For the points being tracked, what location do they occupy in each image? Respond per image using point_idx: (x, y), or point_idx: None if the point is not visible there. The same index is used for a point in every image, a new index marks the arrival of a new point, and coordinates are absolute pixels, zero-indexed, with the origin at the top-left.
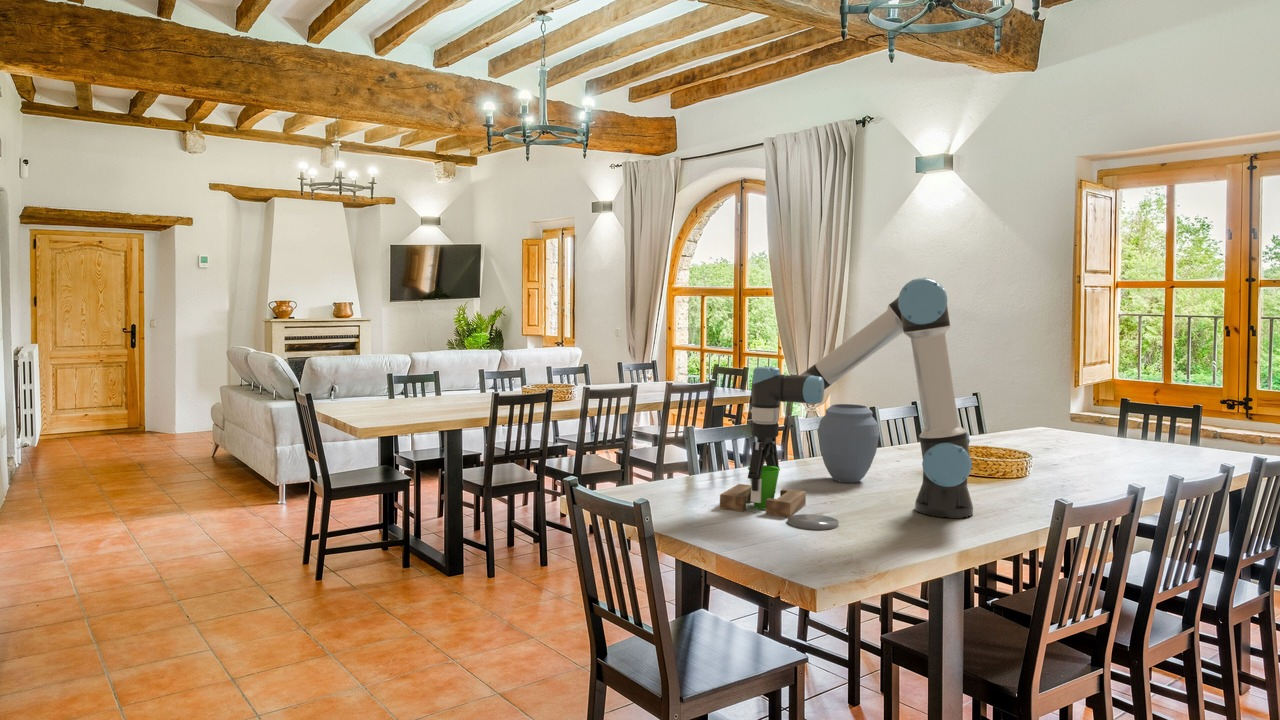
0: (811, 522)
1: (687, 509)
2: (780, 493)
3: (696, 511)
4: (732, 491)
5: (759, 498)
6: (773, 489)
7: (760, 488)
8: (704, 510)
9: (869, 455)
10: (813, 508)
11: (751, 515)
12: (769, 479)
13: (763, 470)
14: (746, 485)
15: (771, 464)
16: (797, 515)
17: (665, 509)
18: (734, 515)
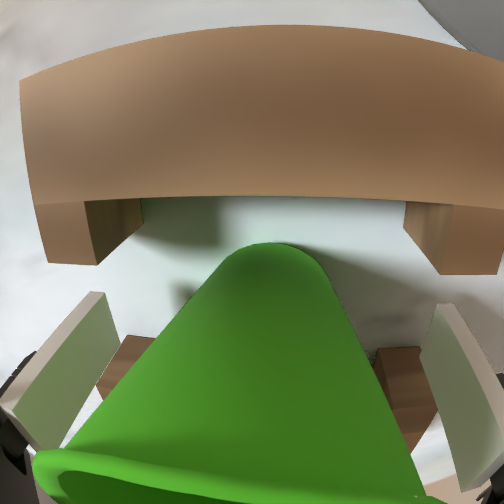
0: None
1: (418, 462)
2: (109, 252)
3: (440, 443)
4: None
5: (464, 326)
6: (300, 304)
7: (495, 376)
8: (424, 437)
9: None
10: (132, 5)
11: (481, 290)
12: (388, 420)
13: (121, 495)
14: None
15: (13, 481)
16: (471, 26)
17: (425, 481)
18: (487, 347)
